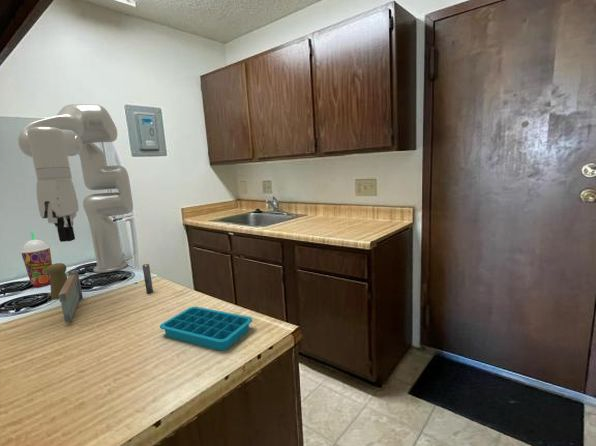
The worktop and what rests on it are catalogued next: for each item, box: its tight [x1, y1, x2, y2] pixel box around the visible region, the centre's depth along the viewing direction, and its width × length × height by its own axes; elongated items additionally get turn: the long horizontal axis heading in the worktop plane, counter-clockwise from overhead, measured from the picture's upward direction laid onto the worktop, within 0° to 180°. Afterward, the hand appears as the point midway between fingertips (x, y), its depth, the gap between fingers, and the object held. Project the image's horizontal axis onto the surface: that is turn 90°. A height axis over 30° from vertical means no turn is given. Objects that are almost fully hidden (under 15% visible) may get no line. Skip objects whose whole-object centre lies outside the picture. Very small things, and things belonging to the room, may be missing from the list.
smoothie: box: [20, 231, 53, 288], centre depth 117 cm, size 8×8×20 cm
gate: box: [58, 274, 80, 324], centre depth 91 cm, size 19×2×8 cm, turn 28°
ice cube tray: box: [159, 306, 253, 351], centre depth 76 cm, size 12×20×3 cm, turn 64°
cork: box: [47, 262, 68, 300], centre depth 105 cm, size 6×6×11 cm
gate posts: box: [68, 263, 154, 301], centre depth 102 cm, size 2×24×10 cm, turn 96°
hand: (67, 240), depth 89 cm, fingers closed
